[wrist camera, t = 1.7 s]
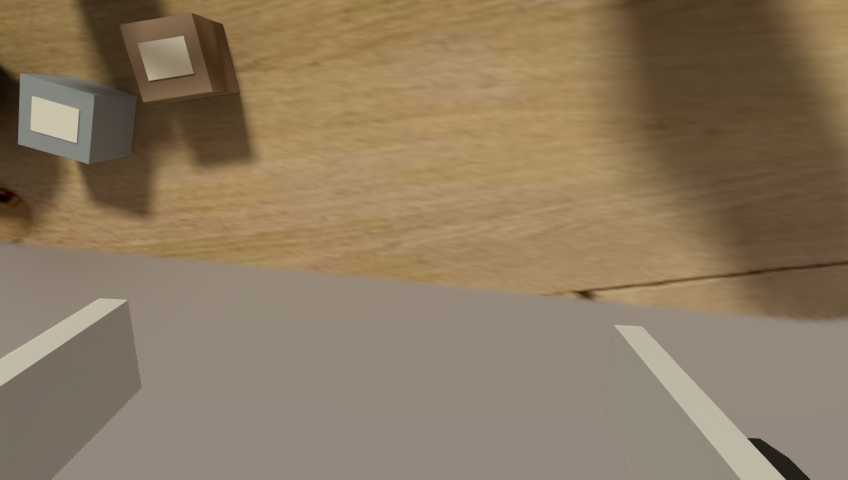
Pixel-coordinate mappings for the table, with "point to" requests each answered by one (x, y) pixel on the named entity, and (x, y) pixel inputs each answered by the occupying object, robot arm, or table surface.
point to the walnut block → (180, 58)
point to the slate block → (75, 118)
